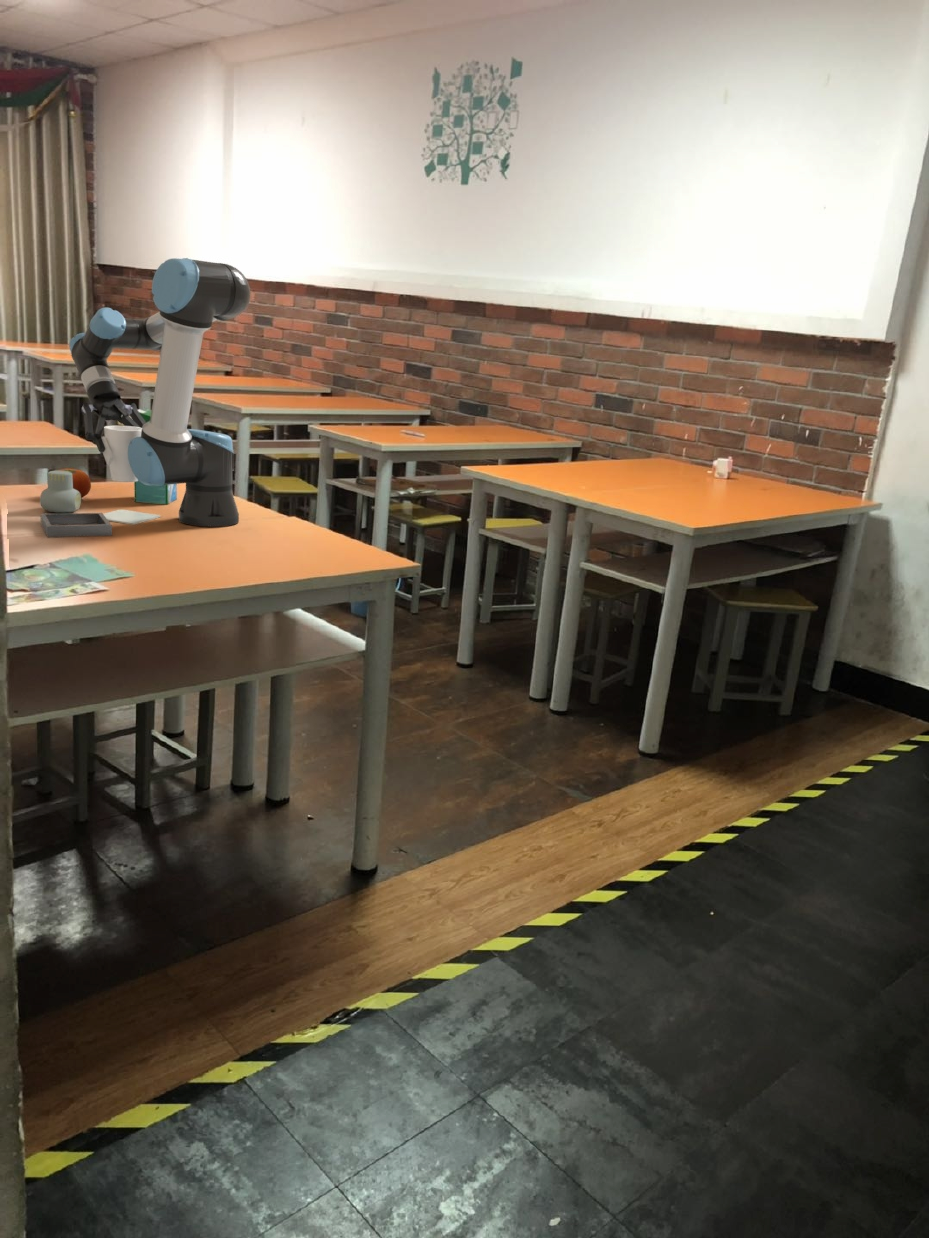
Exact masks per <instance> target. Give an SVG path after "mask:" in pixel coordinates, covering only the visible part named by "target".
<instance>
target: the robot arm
mask: <svg viewBox="0 0 929 1238" xmlns="http://www.w3.org/2000/svg"><path fill="white" fill-rule="evenodd" d="M151 293H152V295H153V297H152V300H153V302H154V304H155V307H156V308H157V309H158V310H159V311H158V312H156V313H155V314H152V315H151V316H148V317H146V318H143V319H142V318H141V319H140V318H139V319H138V318H128V317H127V318H125V317H124V315H123V314H122V313H121V312H119V311H118V310H116V309H115V310H113V308H110V307H101V308H100V309H98V310H97V311H96V312H95V314H94V316H93V317H92V318H91V319H90V322H89V325H88V327H87V329H86V331H85V332H81V333H77V334H76V335H75V336H74V337H72V338H70V340H69V343H68V346H69V347H68V348H69V350H70V354H71V355H70V356H71V358H72V360H73V362H74V364H75V367H76V370H77V372H78V375H79V376H80V379H81V382H82V384H83V387H84V390H85V392H86V394H87V397H88V400H89V402H90V404H89V403H87V402H84V403H83V404H82V407H81V409H80V411H81V413H82V415H83V421H84V423H83V424H84V435H85V440H86V441H92V443H93V444H94V445H96V448H97V450H98V451H99V452H100V453H102V454H103V457H104V460H105V463H106V465H108V466H109V465H110V464H111V462H112V460H113V455H112V453H111V450H110V448H109V445H108V443H107V440H106V438H105V437H104V436H102V435H103V432H104V427H105V422H106V421H117V422H118V423H120V424H121V425H122V426H133V427H140V428H142V431H141V437H136V438H134V439H132V441H130V443H129V446H128V460H129V464H130V467H131V469H132V472H133V474H134V475H135V477H136V478H137V479H138V480H139V481H140V482H141V483H143V484H145V485H157V486H163V485H169V484H177V485H179V484H185V492H184V496H183V497H182V502H181V504H180V506H179V510H178V521H179V522H181V523H182V524H186V525H190V526H197V527H209V528H211V527H214V528H216V527H229V526H234V525H236V524H238V523H239V521H240V520H239V519H240V517H239V516H240V514H239V510H238V506H237V503H236V500H235V497H234V494H233V468H234V467H233V464H234V461H233V459H234V458H233V457H234V447H233V446H234V445H233V439H232V437H231V436H230V435H228V434H225V433H219V432H216V431H214V432H213V431H208V430H202V429H196V428H195V429H193V428H188V423H189V417H190V412H191V406H192V400H193V395H194V389H195V383H196V378H197V372H198V365H199V360H200V354H201V349H202V343H203V337H204V333H205V332H207V331H209V330H210V329H212V325H213V323H214V322H217V321H219V322H226V321H229V320H232V319H234V318H236V317H238V316H240V315H241V314H242V313H244V312H245V310H247V308H248V306H249V305H250V300H251V293H252V292H251V288H250V284H249V281H248V279H247V277H246V276H245V275H244V273H242V271H240V270H239V269H238V268H237V267H235V266H233V265H230V264H228V263H222V262H212V261H205V260H197V259H191V258H188V257H186V258H185V257H183V258H177V257H176V258H169V259H166V260H165V261H164V262H162V263H161V264H160V265H159V266H158V268H157V269H156V271H155V273H154V275H153V279H152V284H151ZM114 349H121V350H122V349H127V350H145V351H147V350H148V351H154V352H155V351H156V352H157V351H160V353H159V362H158V368H157V373H156V380H155V386H154V387H155V388H154V393H153V399H152V405H151V410H152V411H151V417H150V421H149V422H147V423H146V422H145V420H144V419H143V417H142V416H141V414H140V413H139V412H138V408H137V404H136V403H135V402H133V403H131V404H125V403H124V402H123V400H122V398H121V394H120V391H119V389H118V386H117V384H116V381H115V379H114V377H113V373H112V372H111V369H110V367H109V364H108V359H109V357H110V355H111V354H112V352H113V351H114ZM93 412H94V413H95V414H97V415H98V420H97V425H96V428H95V432H94V426H93V423H94V422H93Z"/></svg>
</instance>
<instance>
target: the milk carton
mask: <svg viewBox="0 0 929 1238" xmlns="http://www.w3.org/2000/svg"><path fill="white" fill-rule="evenodd" d="M137 410H138V412H139V413H140V414H141V416H142V417H143V419H144V420H145V422H146V423H147V422H149V421H150V417H151V411H152V409H149V408H147V407H142V408H139V409H138V408H137ZM133 485H134V488H133V489H134V502H135V503H145V504H154V505H169V504H170V503H172V502H174V501H176V500H177V498H178V497H177V496H178V495H177V494H178V487H177V486H178V484H169V485H163V486H157V485H145V484H143V483H141V482H140V481H139V480H138V481H136V482H133Z"/></svg>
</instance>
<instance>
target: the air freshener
mask: <svg viewBox="0 0 929 1238" xmlns="http://www.w3.org/2000/svg"><path fill="white" fill-rule="evenodd" d="M39 503H40V506H41V508H42V509H44V510H46V511H48V512H50V513H53V514H60V513H74V512H76V511H77V510H79V509H80V506H81V504H82V498H81V494H80V492H79V491H77V490H75V489H73V478H72V473H71V472H68V471H58V470H51V471H48V472H47V487H46V488H45V489H43V490H42V491H41V493H40V497H39Z"/></svg>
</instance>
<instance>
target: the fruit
mask: <svg viewBox="0 0 929 1238" xmlns="http://www.w3.org/2000/svg"><path fill="white" fill-rule="evenodd" d="M57 471H68V472H71V473H72V478H73V489H75V490H77V491H79V492H80V494H81V499H82V498H84V497H86V496H87V495H88V494H89V492H90V491H91V488H92V483H91V479H90V476H89V475H88V474H87V473H86V472H84V471H83V470H80V469H75V468H63V469H57Z"/></svg>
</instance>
